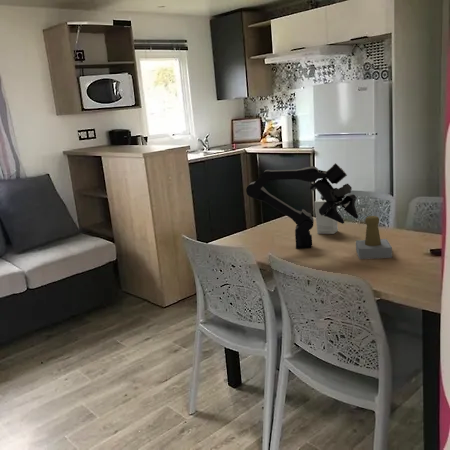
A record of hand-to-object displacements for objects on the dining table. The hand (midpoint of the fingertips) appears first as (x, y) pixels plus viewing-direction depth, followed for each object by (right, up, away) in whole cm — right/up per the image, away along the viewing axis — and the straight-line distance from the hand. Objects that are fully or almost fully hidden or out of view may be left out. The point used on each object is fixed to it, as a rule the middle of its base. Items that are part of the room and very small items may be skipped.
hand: (350, 220), depth 197 cm
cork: (+7, -9, -5) cm, 13 cm away
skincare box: (-3, -5, +33) cm, 34 cm away
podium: (+8, -13, -4) cm, 16 cm away
